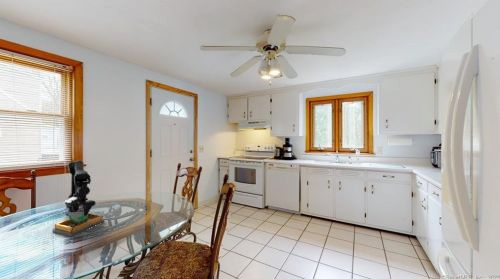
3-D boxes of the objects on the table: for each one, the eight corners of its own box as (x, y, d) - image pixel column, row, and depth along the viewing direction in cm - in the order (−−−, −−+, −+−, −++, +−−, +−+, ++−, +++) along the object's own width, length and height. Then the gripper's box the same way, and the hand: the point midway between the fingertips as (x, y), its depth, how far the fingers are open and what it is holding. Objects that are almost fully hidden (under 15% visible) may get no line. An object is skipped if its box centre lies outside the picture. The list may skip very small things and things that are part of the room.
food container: (74, 229, 126) (75, 214, 126) (67, 227, 128) (68, 212, 127) (94, 221, 138) (94, 207, 138) (87, 219, 140) (88, 205, 139)
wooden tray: (52, 232, 125) (52, 224, 125) (87, 218, 145) (87, 211, 145) (71, 237, 121) (71, 229, 121) (104, 222, 141) (104, 215, 141)
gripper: (56, 193, 127) (56, 217, 127) (78, 197, 122) (77, 222, 123) (75, 188, 138) (75, 210, 138) (96, 192, 133) (95, 215, 134)
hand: (80, 214), depth 133 cm, fingers open, 9 cm apart
